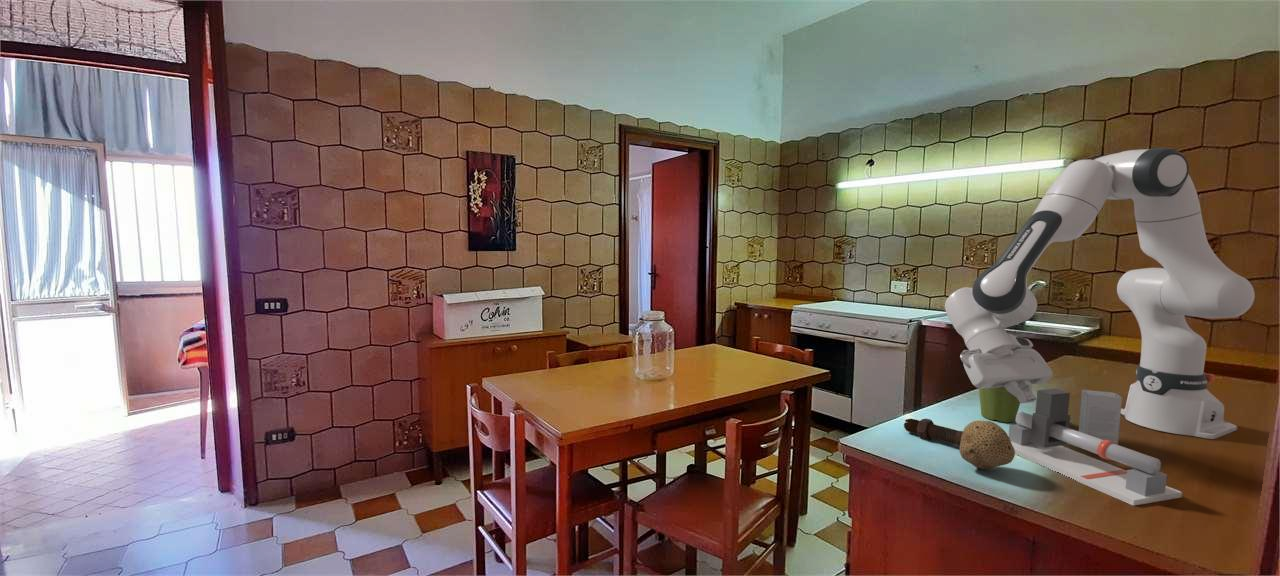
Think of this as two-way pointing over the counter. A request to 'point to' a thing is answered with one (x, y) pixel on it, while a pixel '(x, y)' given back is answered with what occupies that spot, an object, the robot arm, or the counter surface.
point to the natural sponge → (986, 445)
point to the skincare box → (1100, 414)
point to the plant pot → (998, 404)
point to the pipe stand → (1095, 463)
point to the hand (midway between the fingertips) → (1029, 401)
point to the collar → (1049, 416)
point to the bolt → (933, 431)
